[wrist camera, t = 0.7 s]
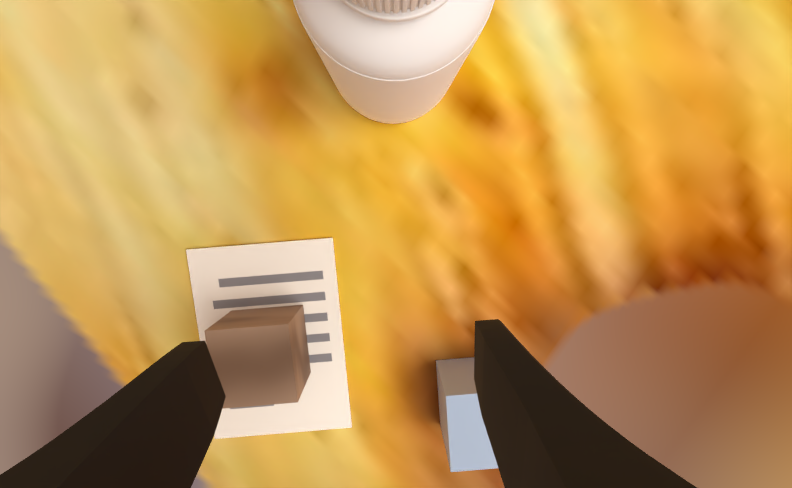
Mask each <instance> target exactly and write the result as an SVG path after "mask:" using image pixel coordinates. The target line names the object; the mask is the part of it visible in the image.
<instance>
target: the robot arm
mask: <svg viewBox="0 0 792 488" xmlns="http://www.w3.org/2000/svg"><path fill="white" fill-rule="evenodd" d="M474 381H475V386H476V391H477V396H478V401H479V406H480V410H481V415H482V418H483V422H484V425H485V428H486V431H487V434H488V437H489V440H490V443H491V447H492V450H493V453H494V456H495V459H496V462H497V465H498V468H499V471H500V474H501V477H502V480H503V483H504V486H505V488H696V487H695V486H694V485H692V484H690V483H689V482H687V481H686V480H684V479H683V478H681V477H680V476H678V475H677V474H676V473H674V472H673V471H671V470H670V469H668V468H667V467H665V466H664V465H662V464H661V463H659V462H658V461H656V460H655V459H653V458H652V457H650V456H649V455H648V454H646V453H645V452H643V451H642V450H641V449H639V448H638V447H636V446H635V445H634V444H632V443H631V442H629V441H628V440H627V439H626V438H624V437H623V436H622V435H620V434H619V433H618V432H617V431H615V430H614V429H613V428H611V427H610V426H609V425H608V424H606V423H605V422H604V421H603V420H601V419H600V418H599V417H597V415H595V414H594V413H593V412H592V411H591V410H589V409H588V408H587V407H586V406H585V405H584V404H583V403H581V402H580V401H579V400H578V399H577V398H576V397H574V395H572V394H571V393H570V392H569V391H568V390H567V389H566V388H565V387H564V386H563V385H561V384H560V383H559V382H558V381H557V380H556V379H555V378H554V377H553V376H552V375H551V374H550V373H549V372H548V371H547V370H546V369H545V368H544V367H543V366H542V365H541V364H540V363H539V362H538V361H537V360H536V359H535V358H534V357H533V356H532V355H531V354H530V353H529V352H528V351H527V350H526V348H525V347H524V346H523V345H522V344H521V343H520V342H519V341H518V340H517V339H516V338H515V337H514V335H513V334H512V333H511V332H510V331H509V330H508V329H507V328H506V326H505V325H504V324H503V323H502V322H501V321H500V320H498V319H496V320H483V321H475V354H474ZM225 398H226V395H225V393H224V390H223V387H222V385H221V382H220V379H219V377H218V374H217V371H216V369H215V366H214V363H213V361H212V358H211V355H210V353H209V350H208V347H207V345H206V342H205V341H195V342H183V343H181V344H180V345H178V346H177V347H175V348H174V349H172V350H171V351H170V352H168V353H167V354H166V355H164V356H163V357H162V358H160V359H159V360H158V361H157V362H155V363H154V364H153V365H151V366H150V367H149V368H148V369H146V370H145V371H144V372H142V373H141V374H140V375H139V376H137V377H136V378H135V379H134V380H132V381H131V382H130V383H128V384H127V385H126V386H125V387H123V388H122V389H121V390H119V391H118V392H117V393H115V394H114V395H113V396H112V397H111V398H109V399H108V400H106V401H105V402H104V403H103V404H101V405H100V406H99V407H97V408H96V409H94V410H93V411H92V412H90V413H89V414H88V415H87V416H85V417H84V418H82V419H81V420H80V421H78V422H77V423H75V424H74V425H73V426H71V427H70V428H69V429H67V430H66V431H64V432H63V433H62V434H60V435H59V436H58V437H56V438H55V439H54V440H52V441H51V442H49V443H48V444H46V445H45V446H43V447H42V448H40V449H39V450H37V451H36V452H35V453H33V454H32V455H30V456H29V457H27V458H26V459H24V460H23V461H21V462H20V463H18V464H16V465H15V466H13V467H12V468H10V469H9V470H7V471H6V472H4V473H3V474H1V475H0V488H191V486H192V484H193V481H194V479H195V477H196V475H197V472H198V470H199V468H200V466H201V464H202V461H203V459H204V457H205V455H206V452H207V450H208V448H209V446H210V443H211V441H212V439H213V436H214V434H215V431H216V428H217V425H218V421H219V418H220V415H221V412H222V408H223V405H224V401H225Z"/></svg>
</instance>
